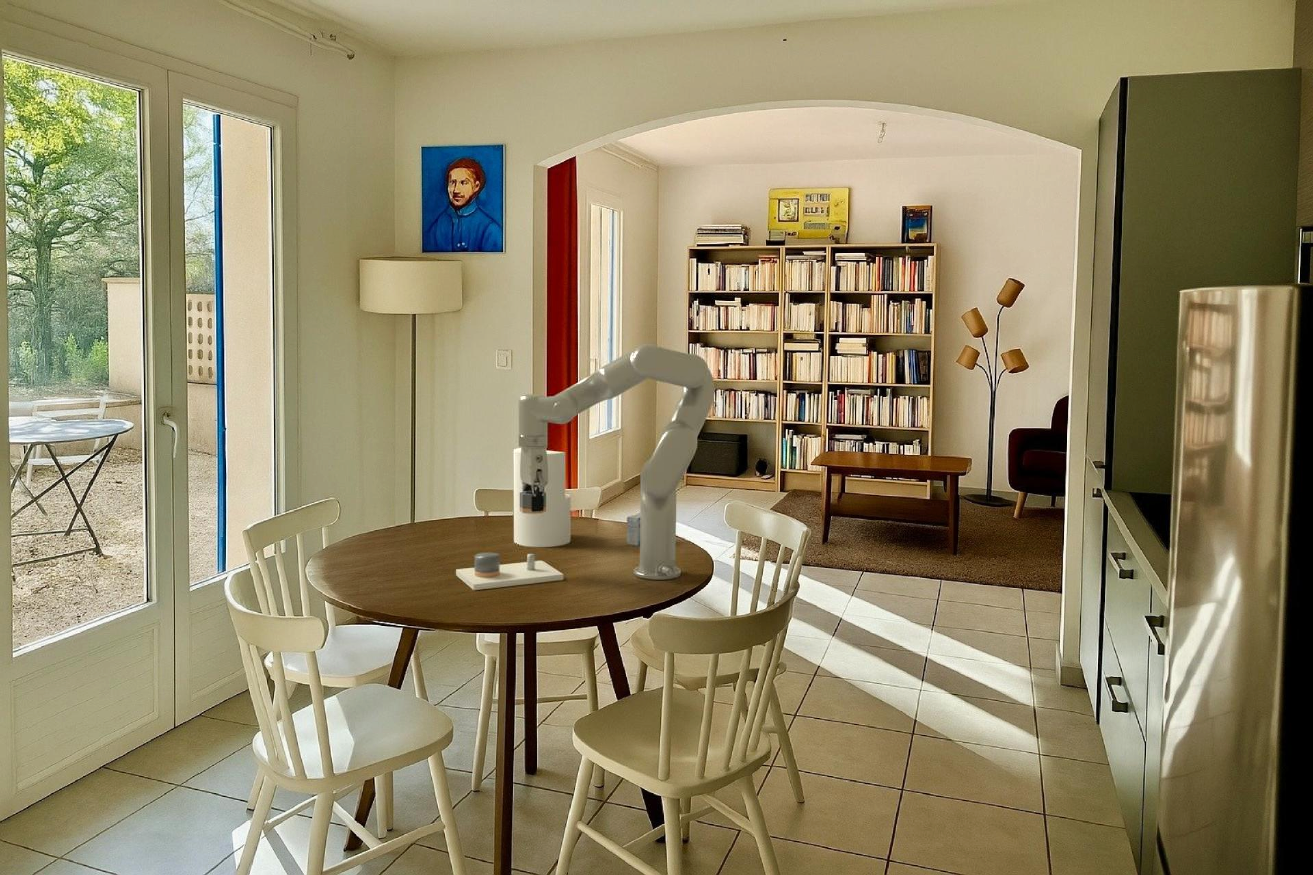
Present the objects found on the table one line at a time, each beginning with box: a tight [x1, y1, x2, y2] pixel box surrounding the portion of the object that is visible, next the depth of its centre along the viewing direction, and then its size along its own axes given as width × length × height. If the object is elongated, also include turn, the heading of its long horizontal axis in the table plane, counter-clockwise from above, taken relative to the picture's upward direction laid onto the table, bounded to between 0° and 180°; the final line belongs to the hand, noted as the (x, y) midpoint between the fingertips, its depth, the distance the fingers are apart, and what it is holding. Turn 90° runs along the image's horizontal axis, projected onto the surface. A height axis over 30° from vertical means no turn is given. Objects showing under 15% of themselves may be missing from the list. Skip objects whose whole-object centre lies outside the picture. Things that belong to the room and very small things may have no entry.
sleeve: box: [520, 491, 546, 514], centre depth 260 cm, size 6×6×5 cm
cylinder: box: [513, 447, 572, 548], centre depth 299 cm, size 17×17×28 cm
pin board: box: [455, 552, 564, 591], centre depth 258 cm, size 16×24×6 cm, turn 117°
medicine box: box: [626, 513, 640, 547], centre depth 299 cm, size 8×4×9 cm, turn 143°
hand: (533, 507), depth 261 cm, fingers closed on sleeve, 6 cm apart
